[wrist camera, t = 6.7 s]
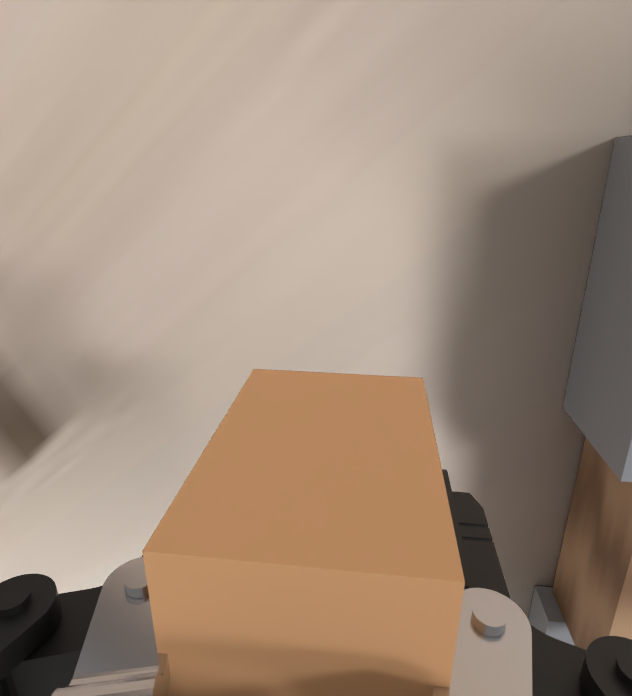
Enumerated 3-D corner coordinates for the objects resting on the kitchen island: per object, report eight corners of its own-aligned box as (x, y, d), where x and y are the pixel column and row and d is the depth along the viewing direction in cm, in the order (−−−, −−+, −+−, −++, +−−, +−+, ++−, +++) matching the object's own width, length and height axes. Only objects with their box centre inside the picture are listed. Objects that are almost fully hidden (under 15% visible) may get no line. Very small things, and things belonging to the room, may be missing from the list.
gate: (598, 375, 25) (664, 436, 19) (624, 376, 25) (698, 438, 19) (552, 590, 29) (593, 690, 24) (573, 592, 29) (620, 692, 24)
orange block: (253, 369, 12) (142, 550, 6) (422, 377, 11) (464, 582, 6) (261, 564, 14) (183, 831, 8) (405, 578, 14) (423, 869, 8)
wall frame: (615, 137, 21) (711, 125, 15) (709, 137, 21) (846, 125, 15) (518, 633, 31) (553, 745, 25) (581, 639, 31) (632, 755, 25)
